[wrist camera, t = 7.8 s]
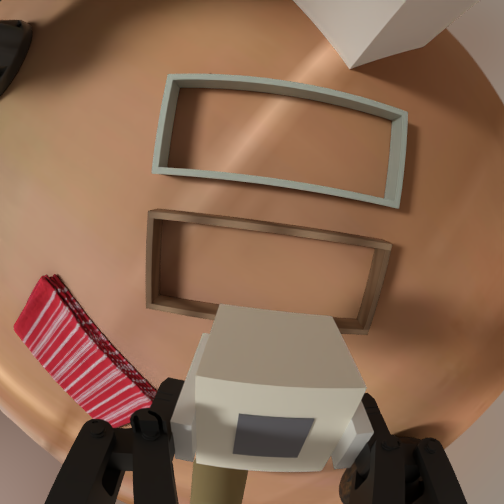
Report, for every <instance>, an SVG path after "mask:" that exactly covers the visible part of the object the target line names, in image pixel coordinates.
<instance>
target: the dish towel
mask: <svg viewBox="0 0 504 504" xmlns="http://www.w3.org/2000/svg"><path fill="white" fill-rule="evenodd" d="M14 331H15V332H16V334H17V335H18V336H19V337H20V338H21V340H22V341H23V343H24V344H25V345H26V346H27V347H28V348H29V350H30V351H31V353H32V354H33V355H34V356H35V358H36V359H37V360H38V361H39V362H40V363H41V365H42V366H43V367H44V368H45V369H46V370H47V371H48V373H49V374H50V375H51V376H52V378H53V379H54V380H55V381H56V382H57V383H58V384H59V385H60V386H61V387H62V388H63V389H64V390H65V391H66V392H67V393H68V394H69V395H70V396H71V397H72V398H73V399H74V401H75V402H76V403H78V404H79V405H80V406H81V407H82V408H83V409H84V410H85V411H86V412H87V413H88V414H89V415H90V416H91V417H92V418H93V419H103V420H105V421H107V422H109V423H110V424H111V426H112V427H113V428H117V427H120V426H122V425H125V424H128V423H130V417H131V415H132V414H133V413H134V412H135V411H136V410H139V409H141V408H150V406H151V404H152V402H153V400H154V398H155V395H156V393H157V391H156V390H155V389H154V388H153V387H152V386H151V385H150V384H149V383H148V382H147V381H146V380H145V379H144V378H143V377H142V376H141V375H140V374H139V373H138V372H137V371H136V370H135V369H134V367H133V366H132V365H131V364H130V363H129V362H128V361H127V360H126V359H125V358H124V357H123V356H122V355H121V354H120V353H119V351H118V350H116V349H115V348H114V347H113V346H112V344H111V343H110V342H109V341H108V340H107V339H106V337H105V336H104V335H103V334H102V333H101V332H100V330H99V329H98V328H97V327H96V326H95V324H94V323H93V322H92V320H91V319H89V317H88V316H87V315H86V313H85V312H84V311H83V309H82V308H81V307H80V305H79V304H78V303H77V301H76V300H75V299H74V298H73V296H72V295H71V294H70V292H69V291H68V289H67V288H66V287H65V286H64V285H63V284H62V282H61V281H60V280H59V278H58V277H57V275H56V274H54V275H53V277H52V276H51V277H48V275H45V276H42V277H41V278H40V280H39V281H38V283H37V284H36V286H35V288H34V289H33V291H32V293H31V295H30V297H29V299H28V301H27V304H26V306H25V307H24V309H23V311H22V312H21V314H20V316H19V318H18V319H17V321H16V323H15V324H14Z"/></svg>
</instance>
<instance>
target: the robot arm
mask: <svg viewBox="0 0 504 504" xmlns="http://www.w3.org/2000/svg"><path fill="white" fill-rule="evenodd" d="M0 1H1V0H0ZM31 38H32V27H31V25H30V24H28V23H26V22H24V21H22V20H0V95H1V94H2V93H3V92H4V91H5V89H6V88H7V87H8V85H9V84H10V82H11V81H12V79H13V78H14V76H15V75H16V73H17V71H18V69H19V68H20V66H21V64H22V62H23V60H24V58H25V55H26V53H27V51H28V48H29V45H30V42H31ZM208 337H209V334H207V333H203V334H202V337H201V339H200V342H199V345H198V347H197V350H196V353H195V355H194V358H193V361H192V363H191V366H190V369H189V371H188V374H187V377H186V380H185V381H183V380H178V379H173V378H169V377H168V378H167V379H166V380H165V381H163V382H162V383H161V385H160V387H159V389H158V392H157V393H156V395H155V398H154V400H153V402H152V404H151V406H150V408H141V409H139V410H136V411H135V412H134V413H133V414H132V415H131V417H130V422H131V426H132V428H126V429H125V428H113V427H112V426H111V424H110V423H109V422H107V421H105V420H103V419H91V420H89V421H87V422H86V423H85V424H84V425H83V427H82V429H81V430H80V432H79V434H78V436H77V438H76V440H75V442H74V444H73V445H72V447H71V449H70V451H69V453H68V455H67V457H66V459H65V461H64V463H63V465H62V467H61V469H60V471H59V473H58V475H57V478H56V480H55V482H54V484H53V486H52V488H51V490H50V492H49V495H48V497H47V499H46V501H45V504H115V502H116V499H117V495H118V492H119V489H120V486H121V483H122V480H123V476H124V473H125V471H133V493H134V504H179V503H178V497H177V491H176V484H175V477H174V470H173V463H172V461H173V457H174V454H175V458H176V459H181V460H185V461H191V462H193V460H194V456H195V452H196V447H197V441H196V409H195V379H196V373H197V370H198V367H199V364H200V361H201V358H202V355H203V352H204V349H205V346H206V343H207V340H208ZM380 413H381V412H380V410H379V408H378V406H377V403H376V401H375V399H374V398H373V397H372V396H371V395H370V394H368V393H364V395H363V397H362V399H361V401H360V403H359V405H358V407H357V409H356V411H355V413H354V415H353V417H352V418H351V420H350V422H349V424H348V426H347V428H346V430H345V432H344V433H343V435H342V437H341V439H340V441H339V442H338V444H337V446H336V448H335V449H334V451H333V453H332V454H331V456H332V461H333V466H334V469H342V468H350V467H351V466H352V464H353V463H354V461H355V464H356V467H357V468H356V469H355V470H354V472H353V473H352V474H351V475H350V477H349V478H348V480H347V482H349V481H350V480H351V479H352V484H351V491H350V497H349V503H348V504H467V502H466V499H465V497H464V495H463V492H462V489H461V487H460V484H459V482H458V480H457V477H456V475H455V473H454V470H453V468H452V466H451V464H450V462H449V459H448V457H447V455H446V453H445V451H444V449H443V446H442V445H441V443H440V442H439V441H438V440H436V439H434V438H425V439H422V440H421V441H420V443H419V444H418V445H417V444H405V443H402V441H401V440H400V439H399V438H398V437H396V436H394V435H391V434H390V432H389V430H388V428H387V425H386V423H385V421H384V419H383V417H382V414H380ZM421 477H422V478H421Z"/></svg>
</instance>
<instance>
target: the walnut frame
mask: <svg viewBox="0 0 504 504" xmlns="http://www.w3.org/2000/svg"><path fill="white" fill-rule="evenodd" d="M162 219H164V220H173V221H182V222H190V223H199V224H207V225H215V226H223V227H231V228H239V229H247V230H255V231H262V232H270V233H277V234H284V235H291V236H298V237H305V238H312V239H319V240H326V241H333V242H340V243H346V244H353V245H359V246H366V247H372V248H375V251H374V256H373V260H372V265H371V269H370V273H369V277H368V281H367V285H366V289H365V293H364V297H363V300H362V304H361V307H360V311H359V314H358V318H357V319H347V318H334V317H333V319H334V321H335V323H336V325H337V327H338V329H339V331H340V333H341V334H357V335H368V332H369V329H370V326H371V323H372V320H373V316H374V313H375V310H376V307H377V303H378V300H379V296H380V293H381V289H382V285H383V281H384V278H385V274H386V270H387V265H388V261H389V257H390V252H391V248H392V244H390V243H388V242H386V241H384V240H382V239H377V238H371V237H365V236H359V235H353V234H347V233H341V232H335V231H328V230H322V229H315V228H309V227H302V226H295V225H288V224H281V223H274V222H267V221H259V220H252V219H244V218H236V217H228V216H220V215H211V214H203V213H194V212H185V211H175V210H166V209H154V210H150V211H148V220H147V240H146V308H148V309H153V310H158V311H163V312H169V313H174V314H180V315H185V316H191V317H197V318H203V319H210V320H214V319H215V316H216V314H217V311H218V308H219V304H213V303H206V302H200V301H193V300H187V299H181V298H175V297H170V296H164V295H159V282H160V250H161V231H162Z"/></svg>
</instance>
